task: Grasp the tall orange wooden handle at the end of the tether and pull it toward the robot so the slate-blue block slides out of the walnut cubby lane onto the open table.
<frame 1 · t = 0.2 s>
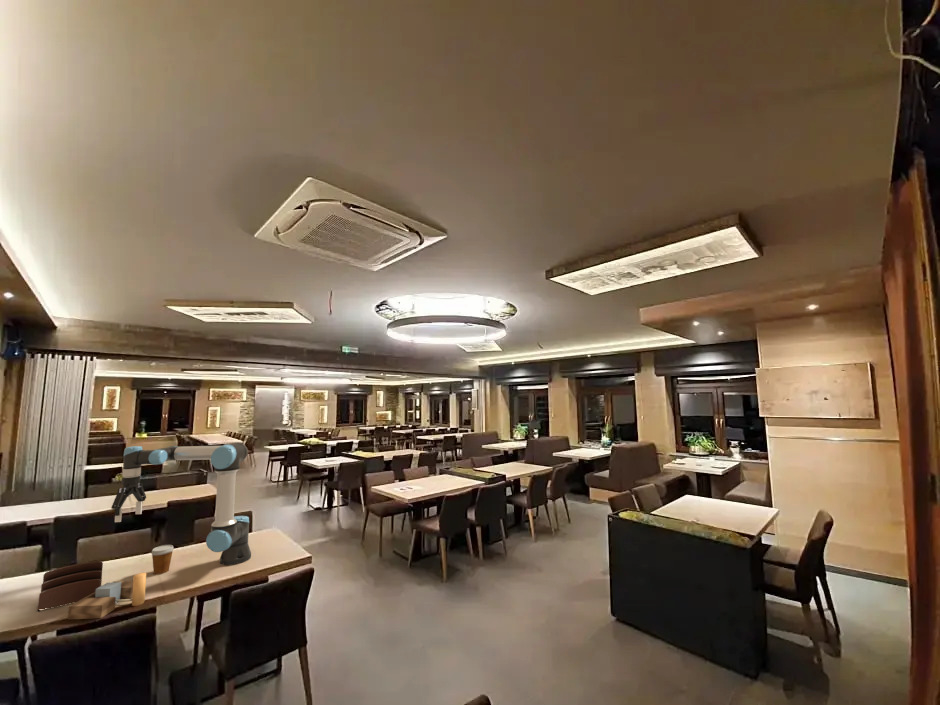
hand: (128, 517, 212), 28 cm above the table, fingers open, 13 cm apart
tethered block: (107, 604, 178), on the table
disposable coffee cup: (161, 572, 211), on the table
letter holder: (70, 600, 183), on the table
cubby lane: (108, 604, 178), on the table
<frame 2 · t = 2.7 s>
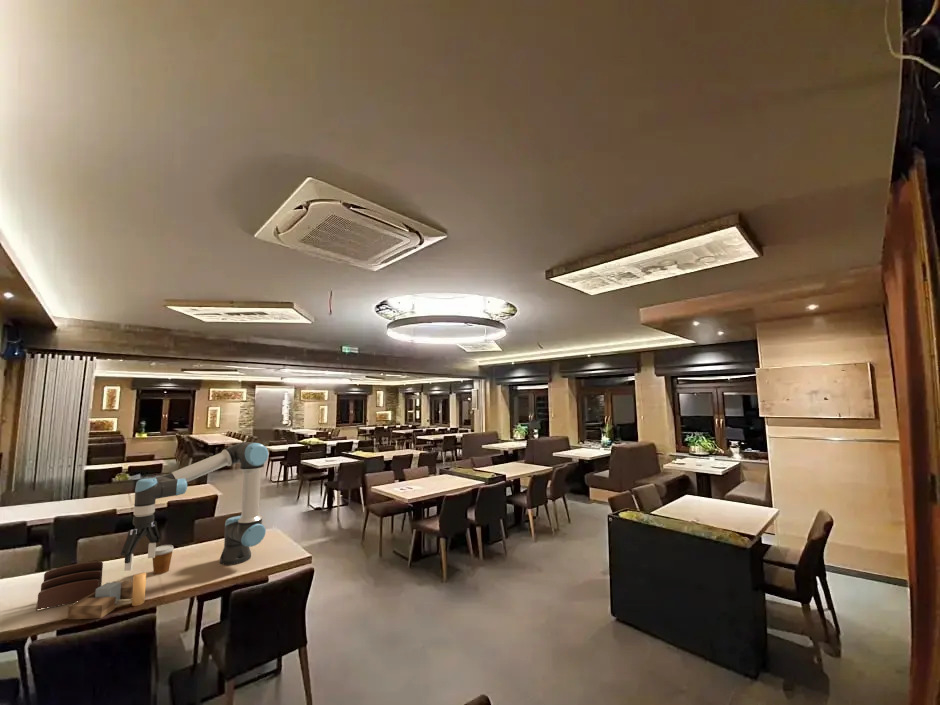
hand: (140, 563, 181), 17 cm above the table, fingers open, 13 cm apart
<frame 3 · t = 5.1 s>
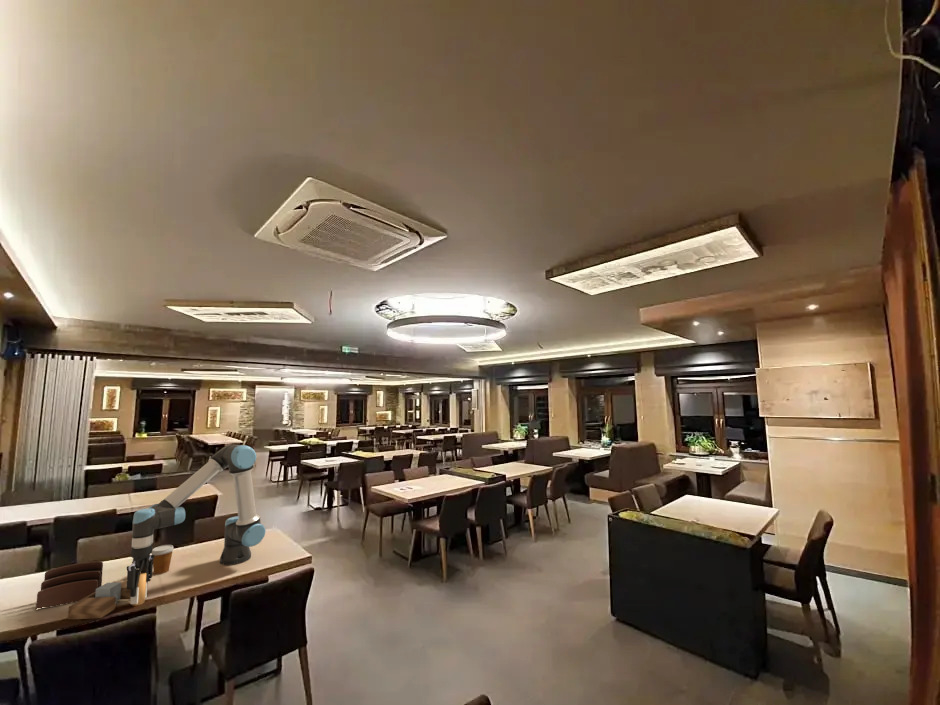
hand: (138, 600, 179), 1 cm above the table, fingers closed on tethered block, 4 cm apart
tethered block: (107, 604, 178), on the table, touching gripper
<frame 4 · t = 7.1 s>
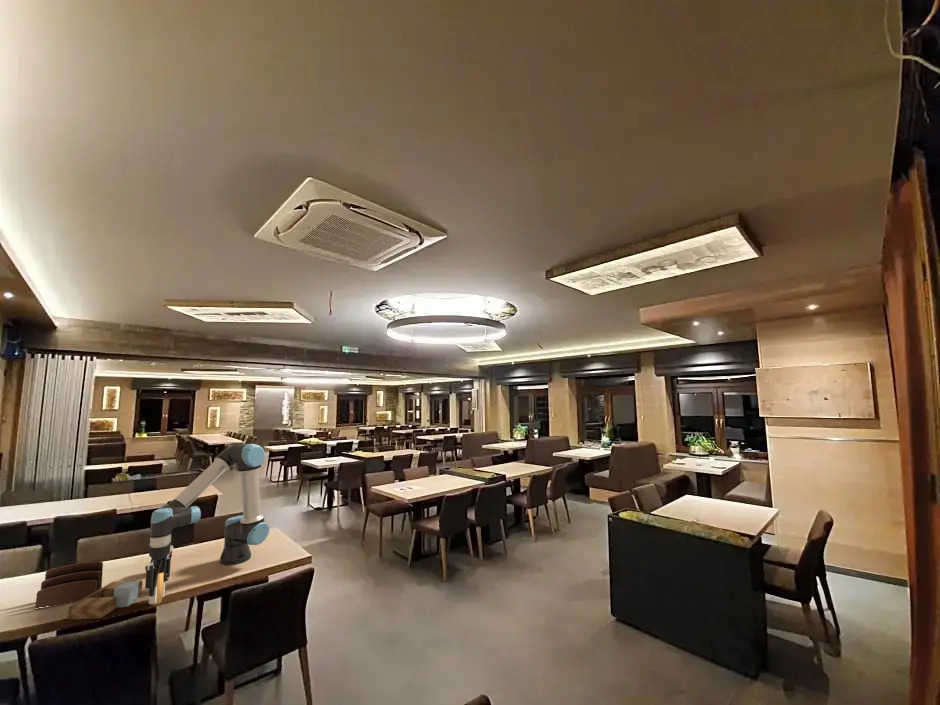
hand: (156, 599, 180), 1 cm above the table, fingers closed on tethered block, 4 cm apart
tethered block: (125, 603, 179), on the table, touching gripper
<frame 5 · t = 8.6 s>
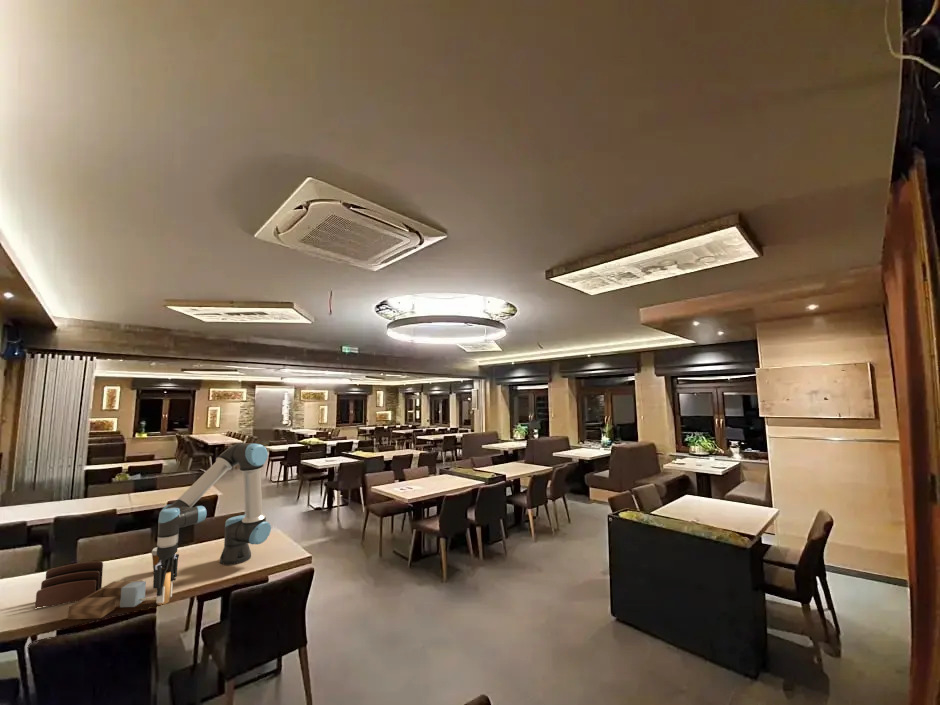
hand: (164, 599, 180), 1 cm above the table, fingers closed on tethered block, 4 cm apart
tethered block: (132, 603, 179), on the table, touching gripper
when the fingers open (1 cm above the table, at t = 9.1 s): tethered block stays where it is, on the table.
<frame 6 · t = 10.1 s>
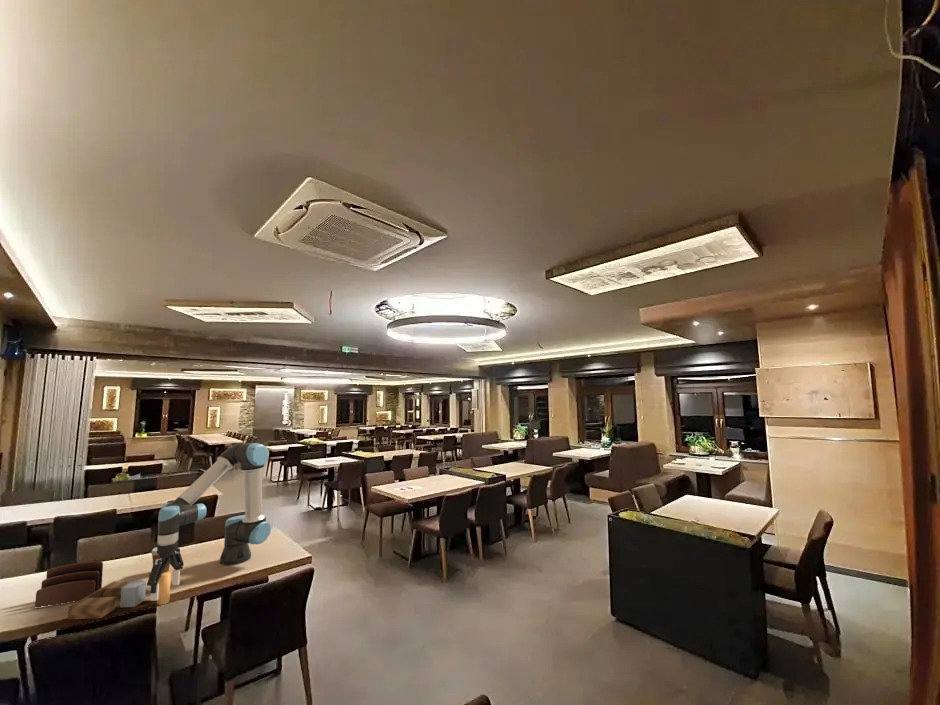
hand: (165, 592, 180), 4 cm above the table, fingers open, 13 cm apart
tethered block: (132, 603, 179), on the table
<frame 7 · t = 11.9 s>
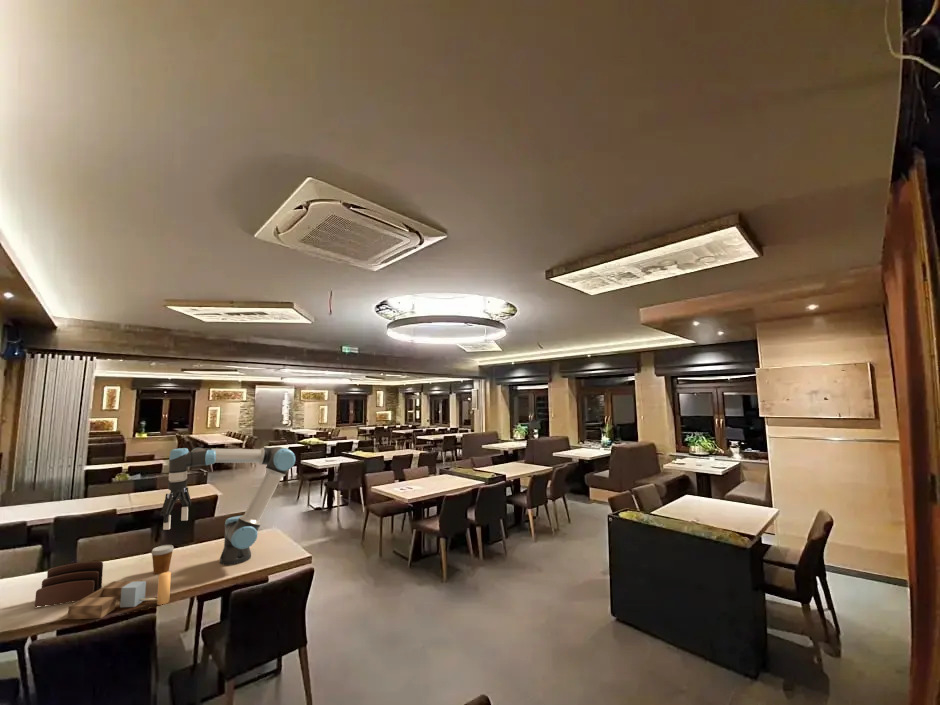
hand: (175, 524, 199), 28 cm above the table, fingers open, 13 cm apart
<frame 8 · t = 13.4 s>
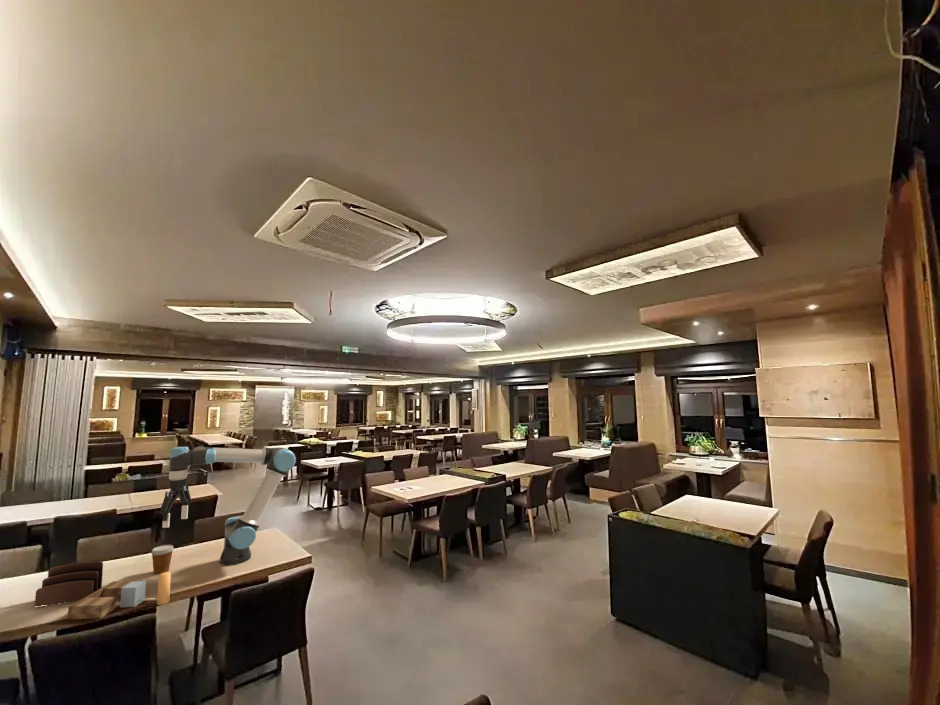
hand: (175, 523, 200), 29 cm above the table, fingers open, 13 cm apart
at the end: tethered block inside the target area (2.7 cm from its centre), on the table; tethered block tilted 0°; the gripper is holding nothing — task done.
